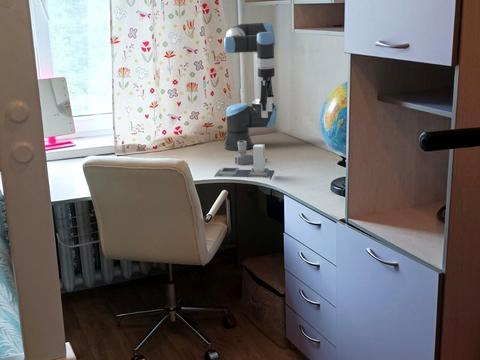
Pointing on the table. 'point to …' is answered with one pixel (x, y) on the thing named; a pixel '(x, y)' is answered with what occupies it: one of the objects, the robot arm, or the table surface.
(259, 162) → the plug
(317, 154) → the table surface
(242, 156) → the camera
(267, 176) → the panel
